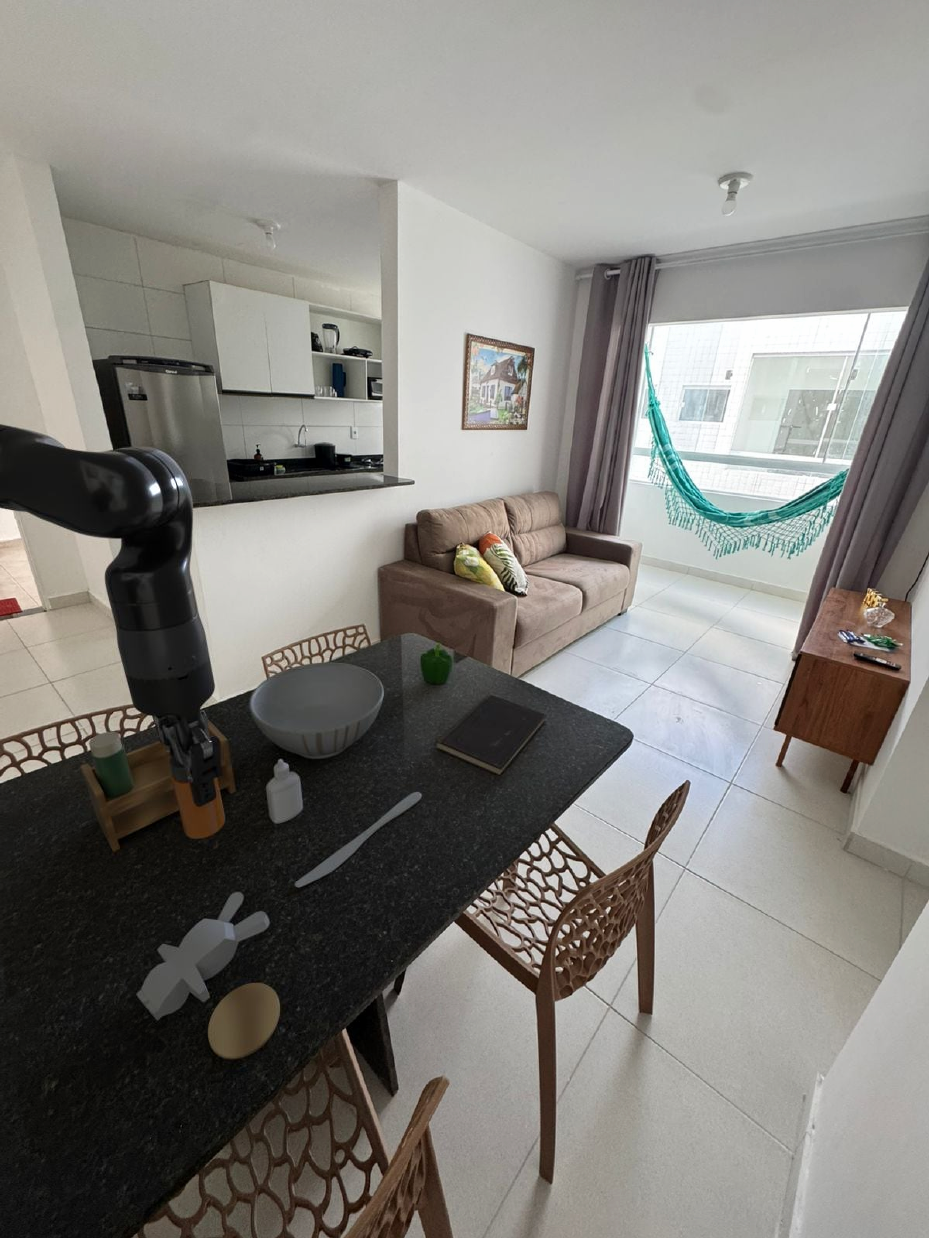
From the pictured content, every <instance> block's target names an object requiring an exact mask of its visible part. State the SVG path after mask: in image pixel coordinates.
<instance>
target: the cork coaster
mask: <svg viewBox="0 0 929 1238" xmlns="http://www.w3.org/2000/svg"><path fill="white" fill-rule="evenodd" d="M280 1014H281V1004H280V998H279V996H278V994H277V992H276V991H275V990H274V989H273V988H272V987H271V986H269V985H268V984H265V983H262V982H250V983H246V984H243V985H241V986H238V987H236V988H234V989H232V990H231V991H230V992H228V994H227V995H225V997H223V998H222V999H221V1000H220V1001H219V1003H218V1004H217V1006H216V1007H215V1008H214V1011H213V1012H212V1014H211V1016H210V1018H209V1022H208V1026H207V1038H208V1044H209V1045H210V1048H211V1049H212V1051H213V1052H214V1053H215V1054H216V1055H217V1056H218V1057H219V1058H222V1059H226V1060H240V1059H242V1058H246V1057H248V1056H251V1055H252V1054H254V1053H255V1052H257V1051H258V1050H259V1049H261V1048H262V1047H263V1046H264V1045H265V1044H266V1043H267V1042H268V1040H269V1039H270V1038H271V1037H272V1035H273V1033H274V1032H275V1030H276V1029H277V1026H278V1023H279V1019H280V1016H281V1015H280Z"/></svg>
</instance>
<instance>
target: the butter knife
mask: <svg viewBox="0 0 929 1238" xmlns="http://www.w3.org/2000/svg"><path fill="white" fill-rule="evenodd" d="M422 797H423V795H422V793H421V792H420V791H415V792H412V793H410V794H408V795H407V796H406V797H404V798H403V799H402V800H400V801H399V802H398V803H397V804H395V805H394V806H393V807H392V808H391V809H390V810H388V811H387V813H385V814H384V815H383V816H382V817H381V818H379V819H378V820H377V821H376V822H374V823H373V824H372V825H371V826H370V827H368V828H367V829H365V830H364V831H363V832H362V833H360V834H359V835H358V836H356V837H355V838H354V839H352V840H351V841H349V842H348V843H347V844H345V845H344V846H343V847H341V848H340V849H338V850H336V852H334V853H333V854H331V856H329V857H328V858H326V859H325V860H324V861H322V862H321V863H320V864H318V865H317V866H316V867H315V868H313V869H311V871H309V872H308V873H307V874H305V875H303V876H302V877H300V878H299V879H298V880H296V881H295V883H294V887H296V888H301V887H304V886H306V885H308V884H311V883H312V882H315V881H317V880H319V879H321V878H322V877H324V876H326V875H328V874H330V873H332V872H333V871H335V870H336V869H337V868H338V867H339V866H340V865H342V864H343V863H344V862H345V861H347V859H349V858H350V857H351V856H352V855H353V854H354V853H355V852H356V851H357V850H358V849H359V848H360V847H361V846H362V845H363V843H364V842H366V840H367V839H369V838H370V837H371V836H373V834H374V833H375V832H376V831H378V830H379V829H381V828H382V827H383V826H384V825H385V824H387V823H388V822H390V821H391V820H393V819H394V818H396V817H399V816H400V815H401V814H402V813H404V812H406V811H407V810H409V809H410V808H411V807H413V806H414V805H415V804H417V802H419V801H420V800H421V799H422Z"/></svg>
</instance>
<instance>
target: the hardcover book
mask: <svg viewBox="0 0 929 1238" xmlns="http://www.w3.org/2000/svg"><path fill="white" fill-rule="evenodd" d="M546 717H547V714H545V713H542V712H540V711H537V710H534V709H531V708H528V707H526V706H523V705H520V704H518V703H516V702H512V701H509V700H507V699H504V698H501V697H499V696H496V695H493V694H490V693H489V694H487V695H486V696H485V697H483V698H482V699H481V700H480V701H479V702H478V703H477V704H476V705H474V707H472V708H471V709H470V710H469V711H468V712H467V713H466V714H465V715H463V716H462V717H461V718H460V719H459V720H458V721H457V722H456V723H455V724H453V725H452V726H451V727H450V729H448V730H447V731H446V732H445V733H444V734H443V735H442V736H441V737H439V738H438V739H437V740H436V741H435V749H436V750H437V751H440V752H442V753H444V754H446V755H447V756H450V757H453V758H454V759H455V758H456V759H458V760H460V761H462V762H464V763H466V764H469V765H471V766H474V767H475V768H478V769H480V770H483V771H484V772H487V773H490V774H492V775H494V776H496V777H498V778H501V777H502V776H503V775H504V774H505V773H506V772H507V770H508V769H509V768H510V766H511V765H512V764H513V763H514V761H516V759H517V758H518V757H519V756H520V755H521V753H522V752H523V751H524V749H525V748H526V747H527V746H528V745H529V744H530V742H531V741H532V740H533V738H534V737H535V736H536V735H537V734H538V733H539V731H540V730H541V729H542V728H543V726H544V725H545V724H546V721H545V718H546Z"/></svg>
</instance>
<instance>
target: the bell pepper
mask: <svg viewBox="0 0 929 1238" xmlns="http://www.w3.org/2000/svg"><path fill="white" fill-rule="evenodd" d="M441 646H442V643H440V642H439V643H437V644H436V646H435V647H432V648H431V649H429V650H427V651H426V653H421V655H420V657H419V658H420V659H419V660H420V661H419V662H420V663H419V664H420V669H421V674H422V677H423V680H424V682H426V683H427V684H429V685H434V684H436V685H443V684H446V683H447V681H448V680H449V678H450V675H451V672H452V668H453V657H452V655H451V654H449V653H448V652H447V650H445V649H444V648H442V649H441Z"/></svg>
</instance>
